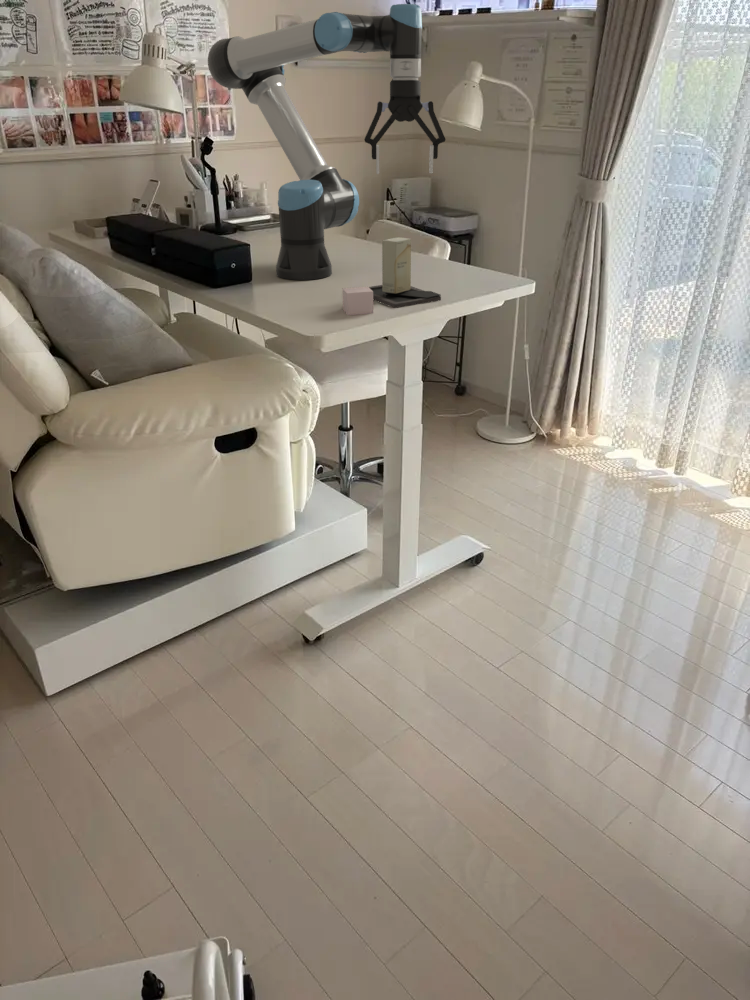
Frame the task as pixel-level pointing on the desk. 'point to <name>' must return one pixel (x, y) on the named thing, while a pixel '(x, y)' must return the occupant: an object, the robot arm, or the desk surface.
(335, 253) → the desk surface
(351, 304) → the pink box
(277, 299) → the desk surface
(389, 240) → the skincare box
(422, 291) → the picture frame
